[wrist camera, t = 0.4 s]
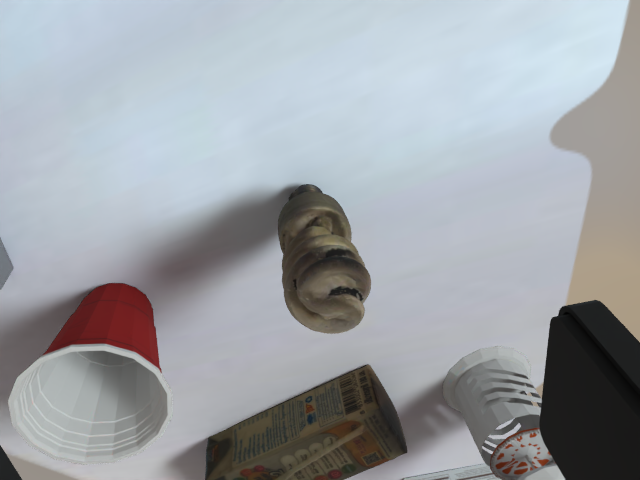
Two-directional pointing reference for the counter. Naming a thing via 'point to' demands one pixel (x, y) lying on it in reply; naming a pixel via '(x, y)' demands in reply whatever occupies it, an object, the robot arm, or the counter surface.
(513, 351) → the french press
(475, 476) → the supplement box
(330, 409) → the beverage carton
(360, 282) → the light bulb
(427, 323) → the counter surface
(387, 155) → the counter surface
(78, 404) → the plastic cup
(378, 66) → the counter surface
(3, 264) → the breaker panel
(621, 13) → the counter surface
